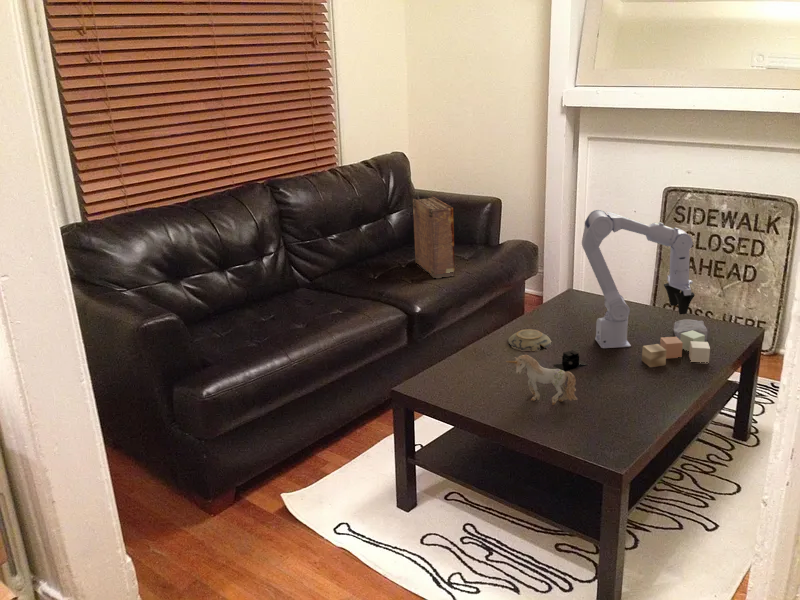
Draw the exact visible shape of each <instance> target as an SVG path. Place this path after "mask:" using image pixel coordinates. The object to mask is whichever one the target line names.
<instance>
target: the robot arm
mask: <svg viewBox="0 0 800 600" xmlns="http://www.w3.org/2000/svg"><path fill="white" fill-rule="evenodd" d="M620 230H624V231H628V232H632V233H636V234H639V235H644V236H645V237H646V239H647V241H649V242H651V243H656V244H657V245H662V246H665V247H670V251H669V252H670V253H669V254H670V255H669V275H668V274H667V283H664V284H663V287H664V288H665V291H666V293H667V297H668V302H669V305H670V306H671V307H672V306H677V309H678V313H679V315H687V314H688V311H689V307H690V304H691V303H692V300H693V299H694V298H695V293H694V292H693V291H692V288H691V285H693V280H691V279H690V259H691V255H690V252H691V251H690V250H691V249H692V248H693V245H694V242H693V239H692V237H691V236H690V235H689V233H687V232H686V231H685V230H684V229H682V228H679V227H674V228H673V227H670V226H667V225H665V224H664V222H660V221H659V222H658V223H656V222H653V223H649V224H646V223H644V222H640V221H638V220H635V219H632V218H630V217H628V216H624V215H621V214H617V213H614V212H611V211H606V212H605V211H604V210H602V209H594V210H593V211H591V212H589V214H588V216H587V217H586V219H585V221H584V229H583V234H582V240H581V245H582V246H581V247H582V249H583V250H584V252H585V255H586V258H587V259H588V262H589V264H590V267H591V270H592V272H593V273H594V277H595V278H596V281H597V283H598V285H599V287H600V289H601V291H602V295H603V296H604V307H605V309H607V311H606V312H605V314H604V316H602V317H599V318H596V322H595V326H596V327H595V328H596V329H595V338H594V339H595V341H596V342H597V344H598V345H599V346H600V348H601V349H610V348H611V349H612V348H613V349H614V348H616V349H617V348H630V347H631V346H632V344H630V342H629V341H628V324H629V316H630V313H631V309H630V307H629V305H628V304H627V303H626V301H625V298H624V296H623V295H621V294H620V293H619V290H618V288H617V285H616V283H615V281H614V279H613V275H612V274H611V271H610V269H609V267H608V264H607V262H606V260H605V257H604V256H603V252H602V250H601V249H600V245H601V244H602V242H603V240H604V239H605V238H607V237H608V236H609V235H610V234H611V233H612V232H613V233H616V232H618V231H620Z"/></svg>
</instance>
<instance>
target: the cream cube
mask: <svg viewBox="0 0 800 600" xmlns="http://www.w3.org/2000/svg"><path fill="white" fill-rule="evenodd" d="M710 352H711V348H710V344H709V342H708V341H705V342H698V341H690V350H689V352H688V353H689V354H688V357H689V361H690V360H691V361H690V363H691V362H700V363H699V364H702V363H701V362H705V363H704V364H708V363H709V364H710V354H711V353H710ZM706 362H708V363H706Z"/></svg>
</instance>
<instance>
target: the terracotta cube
mask: <svg viewBox="0 0 800 600" xmlns="http://www.w3.org/2000/svg"><path fill="white" fill-rule="evenodd" d="M659 340H660V343H659V345H660V346H662V347H663V348H664V349H666V350H667V352H666V360H668V359H679V358H678V357H682V354H683V349H682V346H683V343H682V342H681V341H680V340H679V339H678V338H677V337H676V336H665V337H663V336H662V337H661V336H660V339H659Z"/></svg>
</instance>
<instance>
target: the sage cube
mask: <svg viewBox="0 0 800 600" xmlns="http://www.w3.org/2000/svg"><path fill="white" fill-rule="evenodd" d="M680 341H681V342H682V343H683V346H682V350H683V349H684V351H686V350H687V351H686V352H688V351H689V350H690V341H698V342H706V341H705V335H703V334H701V333H698V332H696V331H693V330H691V331H688V332H684V333H681V338H680Z"/></svg>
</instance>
